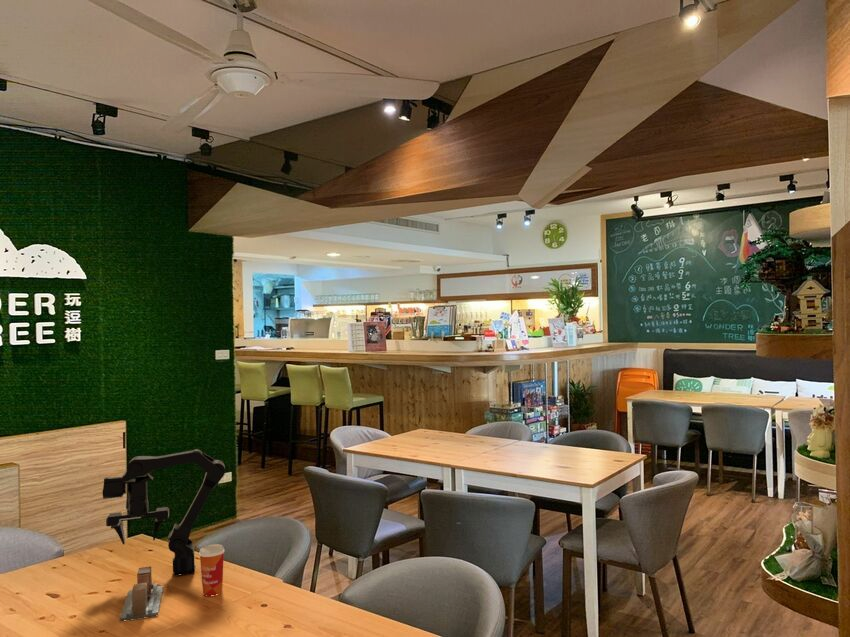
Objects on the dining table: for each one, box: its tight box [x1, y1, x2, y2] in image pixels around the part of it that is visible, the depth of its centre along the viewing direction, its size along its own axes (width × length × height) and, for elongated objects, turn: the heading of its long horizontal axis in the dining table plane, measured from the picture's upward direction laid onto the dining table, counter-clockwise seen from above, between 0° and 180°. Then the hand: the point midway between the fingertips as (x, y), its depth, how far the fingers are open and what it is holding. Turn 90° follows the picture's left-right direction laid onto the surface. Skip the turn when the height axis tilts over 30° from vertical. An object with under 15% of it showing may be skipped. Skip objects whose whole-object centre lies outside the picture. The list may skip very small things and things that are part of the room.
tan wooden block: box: [136, 566, 153, 595], centre depth 190 cm, size 4×6×7 cm, turn 19°
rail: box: [119, 582, 164, 622], centre depth 185 cm, size 10×20×8 cm, turn 19°
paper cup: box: [198, 543, 226, 596], centre depth 192 cm, size 8×8×14 cm
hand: (139, 542), depth 205 cm, fingers open, 9 cm apart
